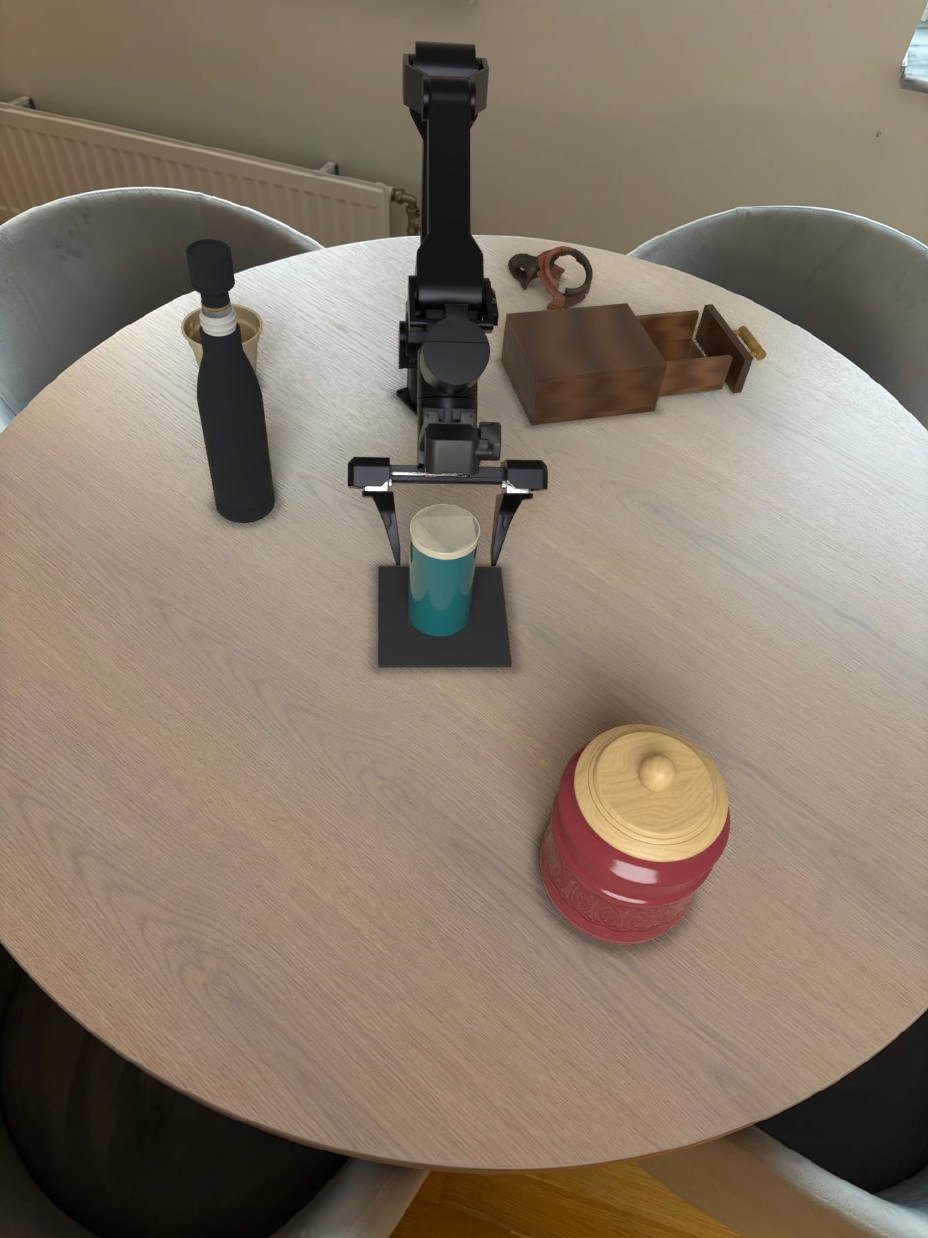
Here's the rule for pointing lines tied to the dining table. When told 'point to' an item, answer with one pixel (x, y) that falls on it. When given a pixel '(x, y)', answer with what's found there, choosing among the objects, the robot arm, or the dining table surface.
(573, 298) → the brown ring sculpture
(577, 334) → the cabinet
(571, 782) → the kitchen canister
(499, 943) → the dining table surface
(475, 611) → the coaster
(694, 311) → the drawer
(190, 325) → the flower pot
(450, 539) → the tumbler
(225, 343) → the black water bottle
